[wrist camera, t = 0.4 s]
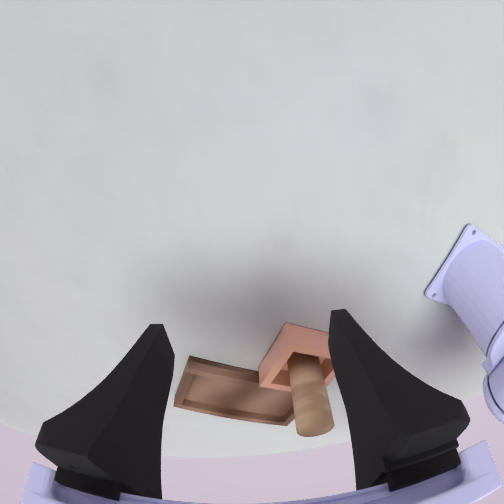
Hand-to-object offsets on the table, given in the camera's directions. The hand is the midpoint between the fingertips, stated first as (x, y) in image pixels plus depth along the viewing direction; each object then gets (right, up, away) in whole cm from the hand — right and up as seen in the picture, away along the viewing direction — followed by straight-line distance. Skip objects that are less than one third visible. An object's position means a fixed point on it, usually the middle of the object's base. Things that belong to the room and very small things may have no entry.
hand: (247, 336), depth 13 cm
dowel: (+5, -6, +15) cm, 17 cm away
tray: (-1, -12, +18) cm, 22 cm away
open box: (+5, -6, +15) cm, 17 cm away
